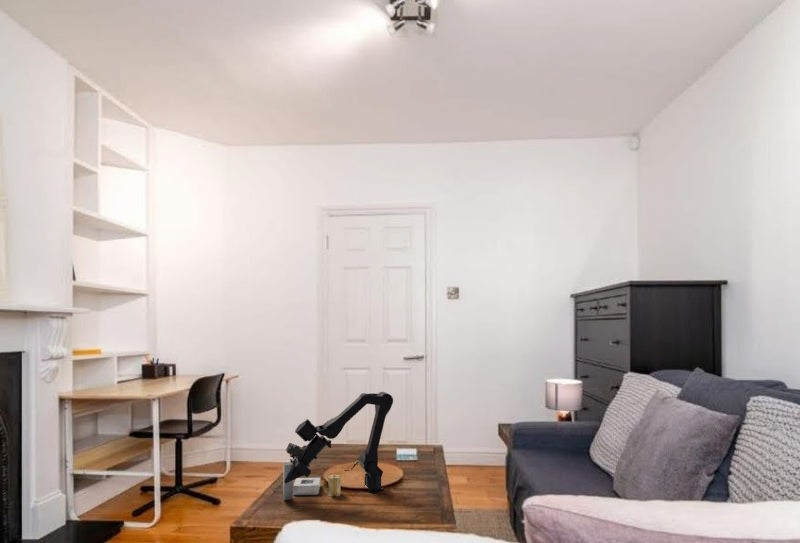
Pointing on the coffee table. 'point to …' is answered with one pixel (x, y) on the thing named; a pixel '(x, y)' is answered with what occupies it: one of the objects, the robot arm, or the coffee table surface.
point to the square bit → (288, 486)
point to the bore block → (306, 486)
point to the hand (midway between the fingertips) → (284, 481)
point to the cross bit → (334, 485)
